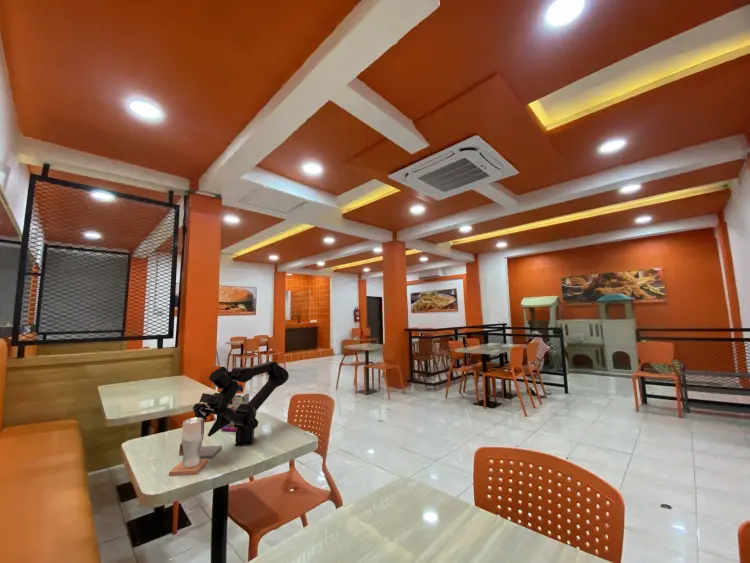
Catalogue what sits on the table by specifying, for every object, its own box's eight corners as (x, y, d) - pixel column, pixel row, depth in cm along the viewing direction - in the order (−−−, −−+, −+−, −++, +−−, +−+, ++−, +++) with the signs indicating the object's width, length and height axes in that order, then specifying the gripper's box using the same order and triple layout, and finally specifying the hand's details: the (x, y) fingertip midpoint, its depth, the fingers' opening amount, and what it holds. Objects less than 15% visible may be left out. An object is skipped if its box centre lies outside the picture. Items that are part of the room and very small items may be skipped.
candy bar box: (248, 428, 150) (249, 393, 152) (242, 432, 146) (243, 395, 147) (227, 427, 152) (228, 392, 154) (220, 431, 147) (222, 394, 149)
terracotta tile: (208, 462, 116) (208, 458, 116) (196, 474, 107) (196, 470, 107) (182, 463, 115) (183, 459, 115) (168, 475, 106) (169, 471, 106)
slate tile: (221, 448, 128) (221, 445, 128) (212, 458, 119) (212, 455, 119) (198, 449, 127) (198, 446, 127) (187, 459, 118) (187, 456, 118)
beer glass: (175, 469, 108) (177, 423, 110) (187, 459, 115) (190, 417, 117) (195, 469, 108) (197, 423, 110) (206, 460, 115) (208, 417, 117)
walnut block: (193, 450, 127) (193, 439, 127) (190, 454, 123) (191, 443, 124) (181, 451, 126) (182, 441, 126) (179, 455, 122) (179, 444, 122)
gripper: (197, 382, 126) (168, 419, 115) (231, 386, 118) (203, 426, 107) (214, 397, 132) (188, 434, 121) (247, 402, 124) (222, 442, 113)
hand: (199, 434), depth 115 cm, fingers open, 9 cm apart
